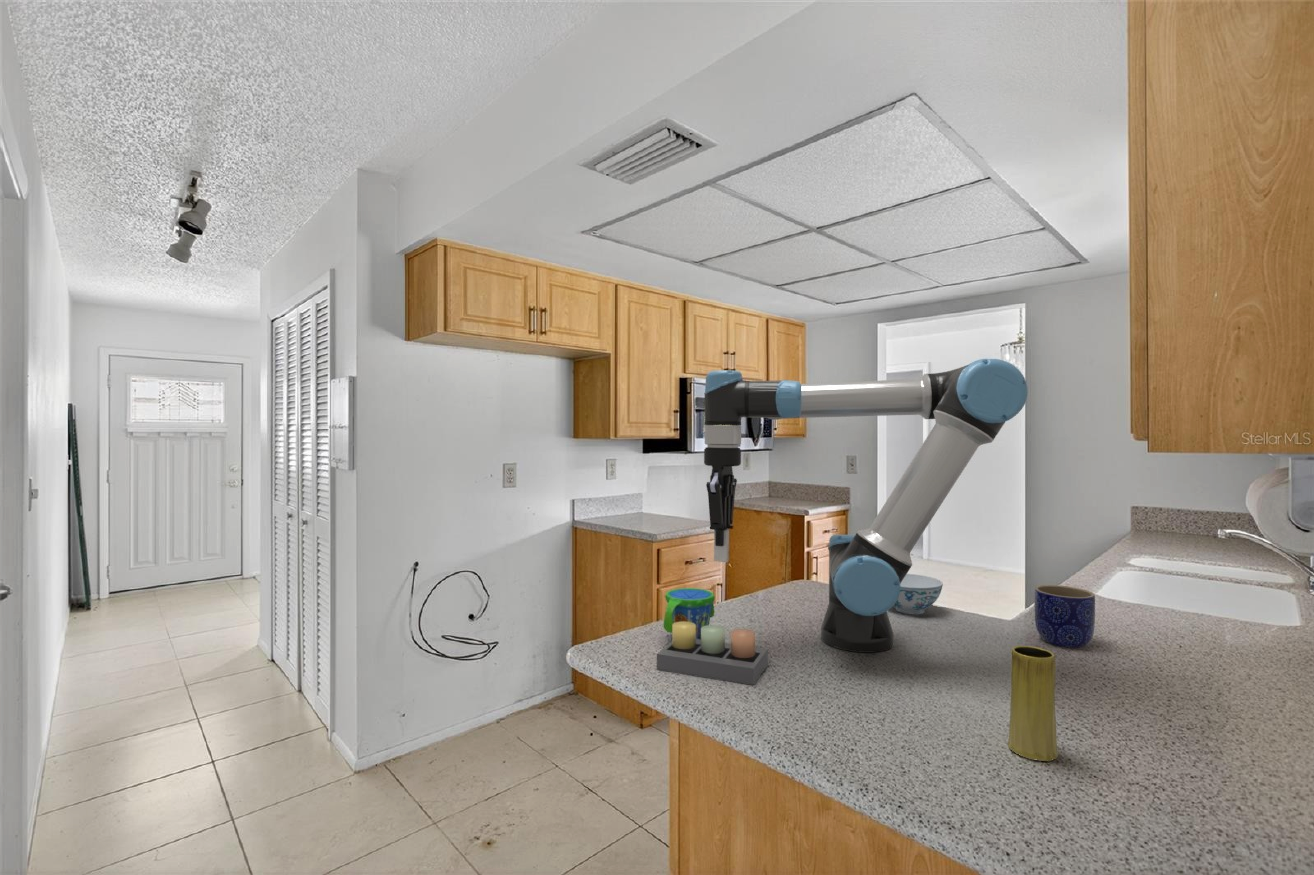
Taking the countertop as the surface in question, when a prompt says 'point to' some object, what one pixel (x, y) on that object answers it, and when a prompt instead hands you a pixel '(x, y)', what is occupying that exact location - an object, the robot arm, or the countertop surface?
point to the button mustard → (683, 635)
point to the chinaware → (917, 593)
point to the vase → (1033, 703)
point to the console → (713, 663)
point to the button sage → (713, 639)
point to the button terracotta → (743, 643)
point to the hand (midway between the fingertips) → (721, 560)
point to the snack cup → (689, 608)
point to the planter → (1064, 615)
